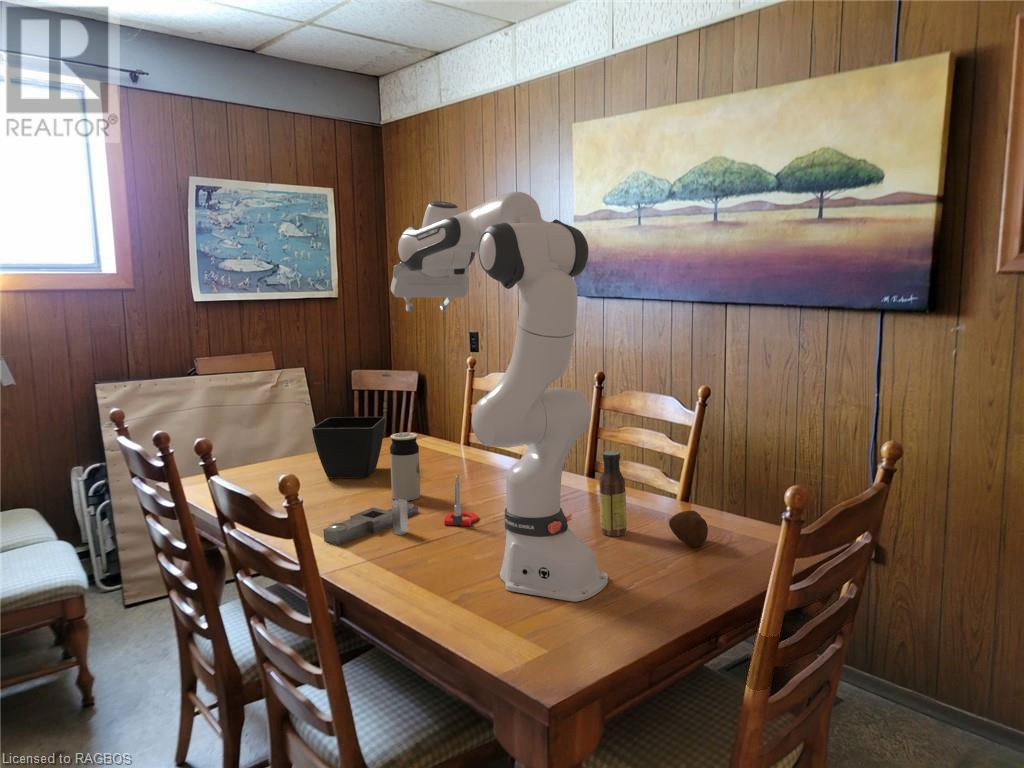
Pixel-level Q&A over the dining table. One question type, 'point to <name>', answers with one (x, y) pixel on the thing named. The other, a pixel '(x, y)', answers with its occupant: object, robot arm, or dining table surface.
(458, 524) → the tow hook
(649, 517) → the dining table surface
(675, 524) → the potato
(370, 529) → the chain end
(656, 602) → the dining table surface
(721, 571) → the dining table surface
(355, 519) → the bar
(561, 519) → the robot arm
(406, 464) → the travel mug
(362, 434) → the flower pot
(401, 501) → the pin
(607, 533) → the sauce bottle
